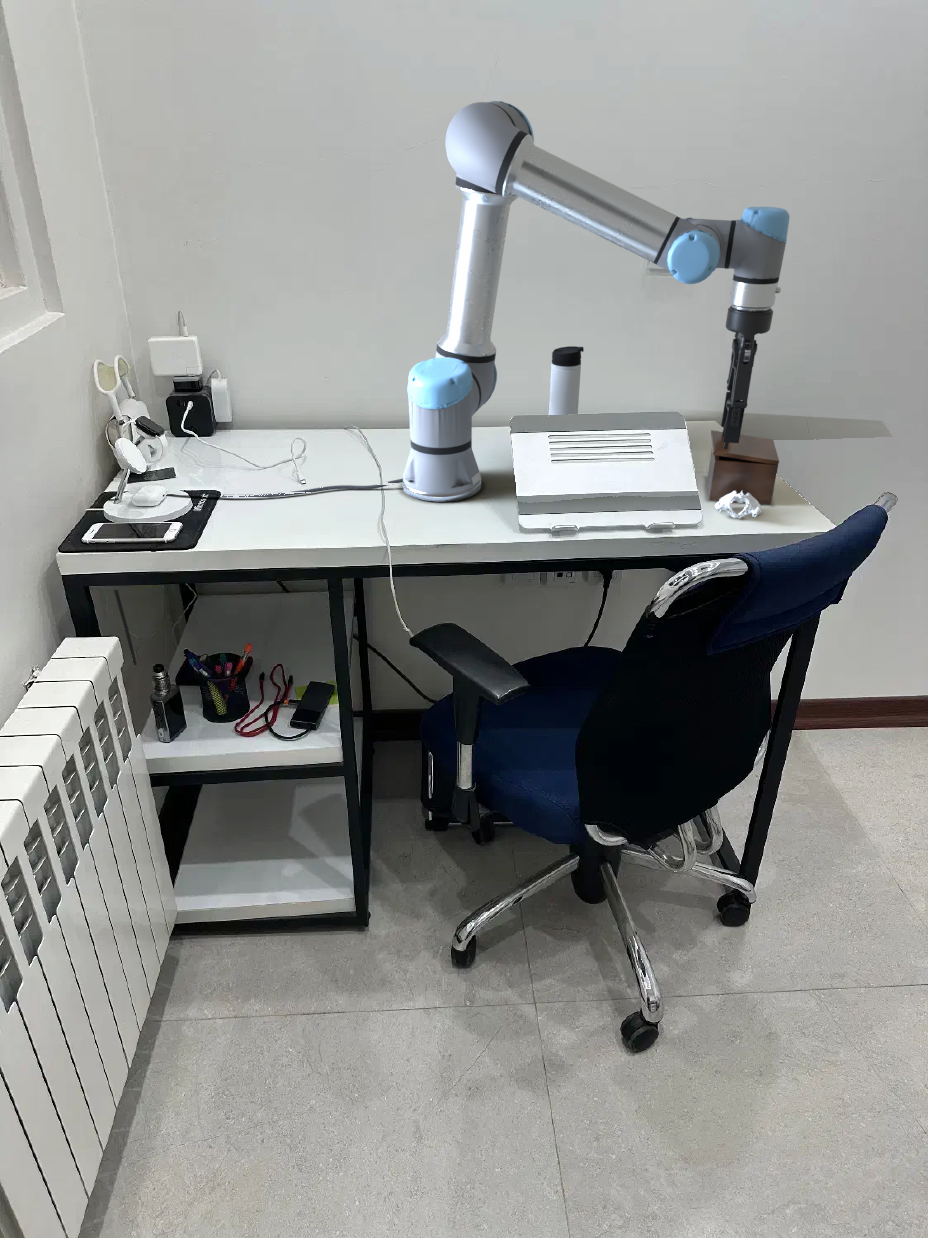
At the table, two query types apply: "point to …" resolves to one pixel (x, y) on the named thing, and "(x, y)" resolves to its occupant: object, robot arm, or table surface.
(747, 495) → the hip bone replica
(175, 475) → the table surface
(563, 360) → the travel mug
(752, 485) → the desk box
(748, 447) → the lid
